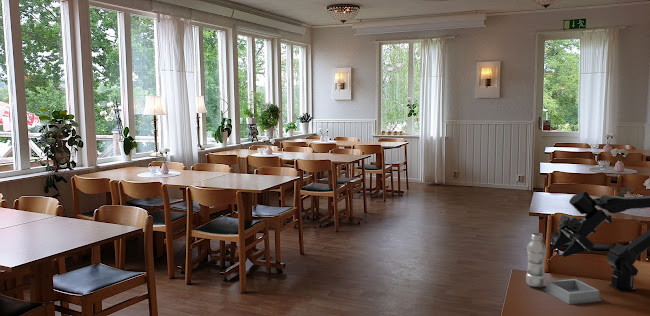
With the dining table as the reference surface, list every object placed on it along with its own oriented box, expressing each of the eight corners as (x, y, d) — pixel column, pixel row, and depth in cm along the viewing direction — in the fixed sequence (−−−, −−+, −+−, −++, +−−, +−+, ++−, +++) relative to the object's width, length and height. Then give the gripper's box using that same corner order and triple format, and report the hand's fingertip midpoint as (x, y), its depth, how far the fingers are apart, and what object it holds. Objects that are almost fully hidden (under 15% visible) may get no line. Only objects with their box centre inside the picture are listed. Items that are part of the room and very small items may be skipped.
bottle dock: (575, 287, 185) (575, 278, 184) (601, 300, 172) (602, 291, 172) (544, 290, 182) (544, 281, 182) (568, 304, 169) (569, 294, 169)
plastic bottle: (546, 289, 182) (549, 237, 179) (527, 288, 184) (529, 236, 180) (542, 282, 189) (545, 231, 185) (523, 281, 190) (525, 231, 187)
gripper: (563, 202, 191) (533, 230, 193) (585, 213, 173) (551, 244, 175) (584, 222, 191) (554, 250, 193) (608, 235, 173) (574, 266, 175)
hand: (557, 252), depth 184 cm, fingers open, 9 cm apart
